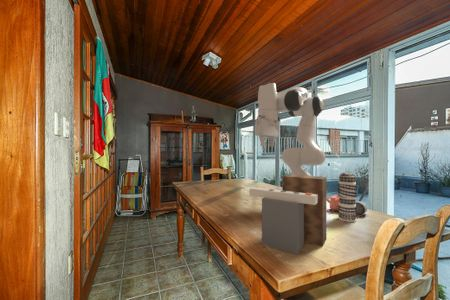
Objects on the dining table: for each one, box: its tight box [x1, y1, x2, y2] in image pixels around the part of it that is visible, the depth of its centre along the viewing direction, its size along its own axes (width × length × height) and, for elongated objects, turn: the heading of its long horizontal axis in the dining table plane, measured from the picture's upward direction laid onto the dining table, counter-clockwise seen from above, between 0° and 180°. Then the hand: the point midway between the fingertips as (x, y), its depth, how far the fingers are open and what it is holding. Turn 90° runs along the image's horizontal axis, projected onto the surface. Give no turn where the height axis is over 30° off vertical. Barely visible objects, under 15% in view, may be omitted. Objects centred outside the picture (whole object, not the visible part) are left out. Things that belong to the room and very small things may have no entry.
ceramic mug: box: [355, 200, 368, 217], centre depth 121 cm, size 11×8×8 cm
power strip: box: [248, 186, 318, 205], centre depth 81 cm, size 26×4×4 cm, turn 55°
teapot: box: [326, 194, 340, 212], centre depth 128 cm, size 12×12×10 cm
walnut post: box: [281, 174, 327, 247], centre depth 87 cm, size 16×8×26 cm, turn 54°
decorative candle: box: [337, 172, 358, 223], centre depth 111 cm, size 9×9×25 cm
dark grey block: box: [261, 197, 305, 255], centre depth 81 cm, size 14×8×18 cm, turn 54°
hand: (267, 146), depth 97 cm, fingers open, 8 cm apart
